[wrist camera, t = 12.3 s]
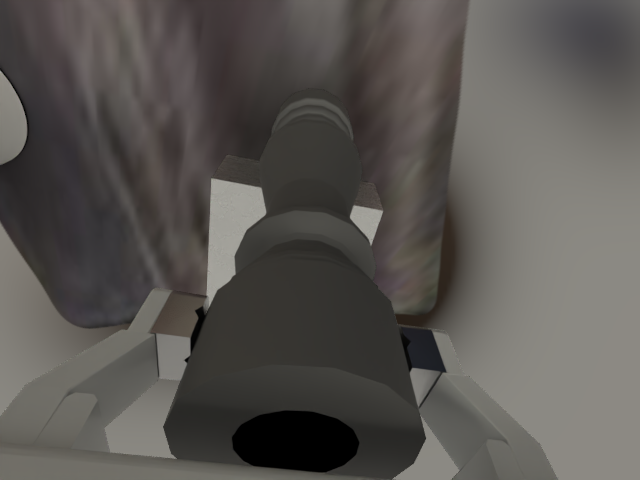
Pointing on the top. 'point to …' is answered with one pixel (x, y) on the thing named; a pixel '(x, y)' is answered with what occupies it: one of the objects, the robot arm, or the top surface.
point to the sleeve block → (258, 214)
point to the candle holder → (301, 325)
